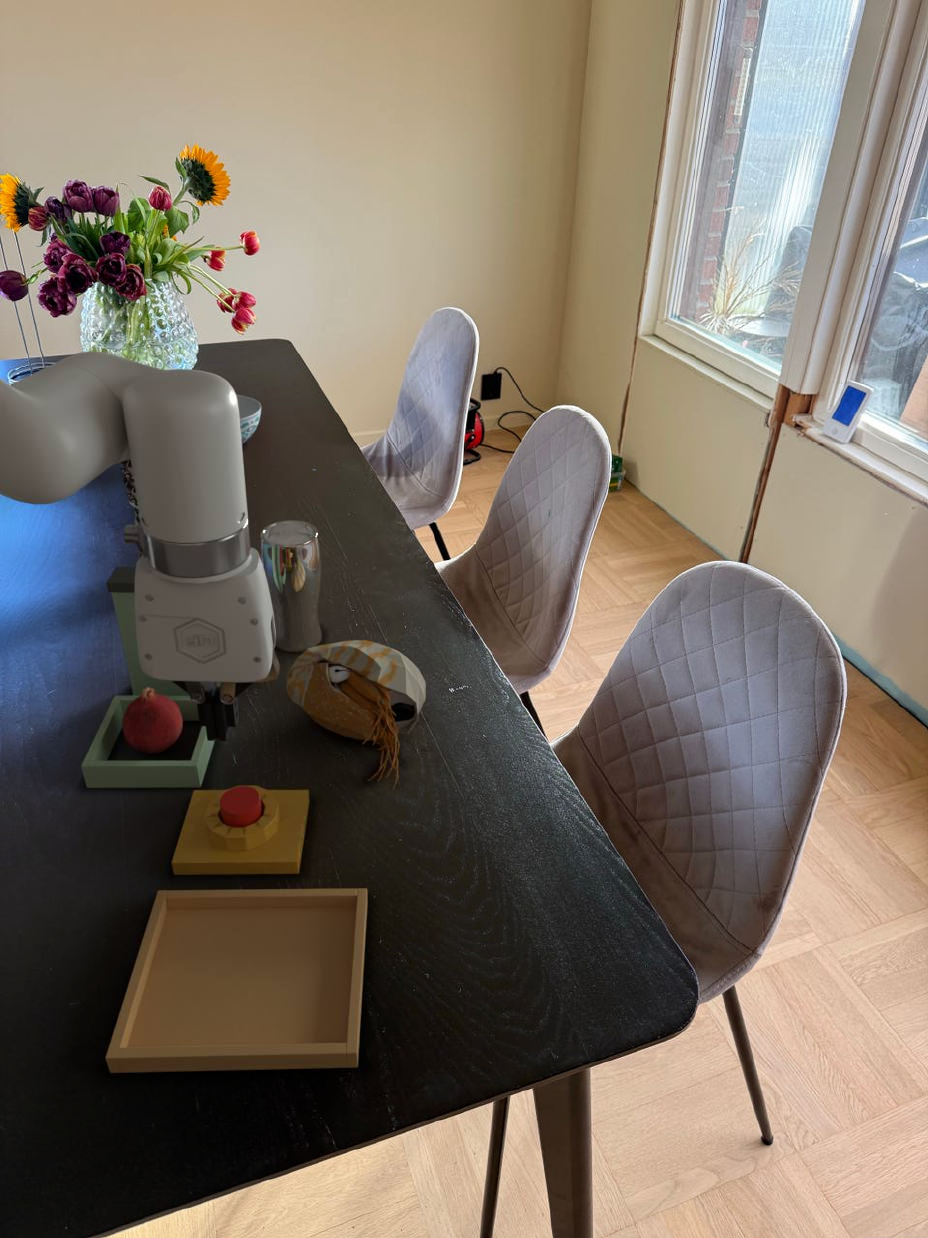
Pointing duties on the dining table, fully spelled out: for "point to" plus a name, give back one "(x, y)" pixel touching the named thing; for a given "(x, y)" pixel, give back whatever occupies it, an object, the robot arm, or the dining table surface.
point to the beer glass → (293, 582)
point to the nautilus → (359, 692)
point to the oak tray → (245, 982)
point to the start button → (240, 806)
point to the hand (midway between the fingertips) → (220, 730)
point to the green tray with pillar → (95, 762)
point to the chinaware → (248, 416)
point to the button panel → (243, 836)
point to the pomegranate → (152, 722)
